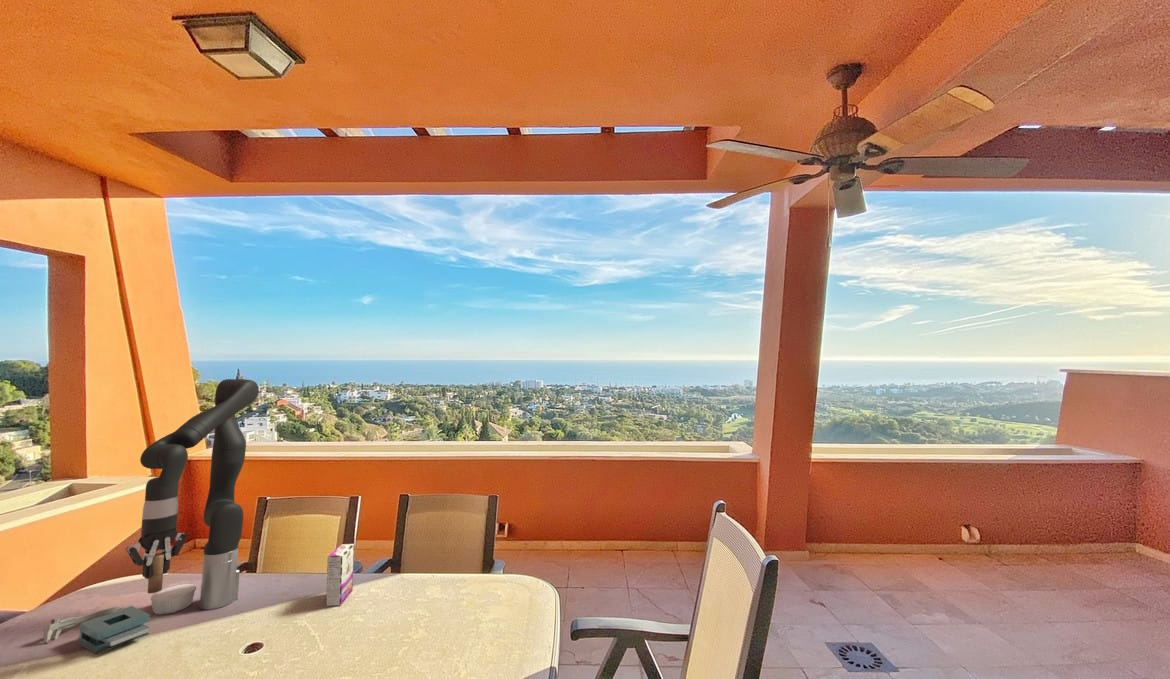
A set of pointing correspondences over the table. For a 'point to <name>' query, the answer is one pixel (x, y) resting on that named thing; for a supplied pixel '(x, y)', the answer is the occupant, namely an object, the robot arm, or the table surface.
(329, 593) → the candy bar box
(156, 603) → the ramekin
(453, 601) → the table surface
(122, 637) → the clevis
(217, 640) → the table surface
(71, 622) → the caliper
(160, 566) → the pin
